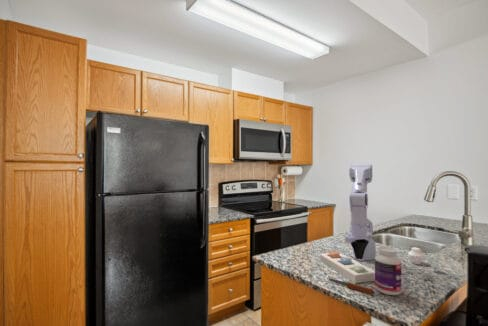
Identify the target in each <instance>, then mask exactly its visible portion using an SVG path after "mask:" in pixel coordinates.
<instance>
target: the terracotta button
mask: <svg viewBox="0 0 488 326" xmlns="http://www.w3.org/2000/svg"><path fill="white" fill-rule="evenodd" d="M328 253H329V257H331V258H333V259H334V258H340V253H341V252H339V251H338V252H337V251H329V252H328Z"/></svg>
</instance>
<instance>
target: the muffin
mask: <svg viewBox="0 0 488 326" xmlns="http://www.w3.org/2000/svg"><path fill="white" fill-rule="evenodd" d="M407 255H408V257H409V259H410V261H411V263H412V264H415V265H421V264H422V262H423V261H424V259H425V257H426V256H425V254H424V253H423V252H422V250H421V248H418V247H416V246H415V247H411V250H409V251H408V253H407Z"/></svg>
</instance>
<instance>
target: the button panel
mask: <svg viewBox="0 0 488 326" xmlns="http://www.w3.org/2000/svg"><path fill="white" fill-rule="evenodd" d="M339 253H340V258H342V257H346V258H350V257H349V256H347V255H345V254H343V253H341V252H339ZM340 258H334V259H333V258H331V257H329V252H327V253H319V261H321V262H322V263H323V264H324V265H326V266H327V267H329V268H331V269H333V270H334V271H335V272H337V273H339V274H341V275H342V276H343V277H345V278H347V279H348V280H349V281H352V282H353V284H358V283H364V282H373V281H374V282H375V269H374V270H373V269H372V268H369V267H368V266H366V265H364V264H361V263H360V262H358V261H356V260H354V259H353V258H352V257H351V258H350V259H351V260H352V265H343V264H341V263H340ZM353 266H361V267H364V268H365V272H364V273H357V272H355V271H353Z"/></svg>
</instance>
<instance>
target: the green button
mask: <svg viewBox="0 0 488 326" xmlns="http://www.w3.org/2000/svg"><path fill="white" fill-rule="evenodd" d="M353 271H355V272H357V273H364V272H365V268H364V267H361V266H353Z"/></svg>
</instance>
